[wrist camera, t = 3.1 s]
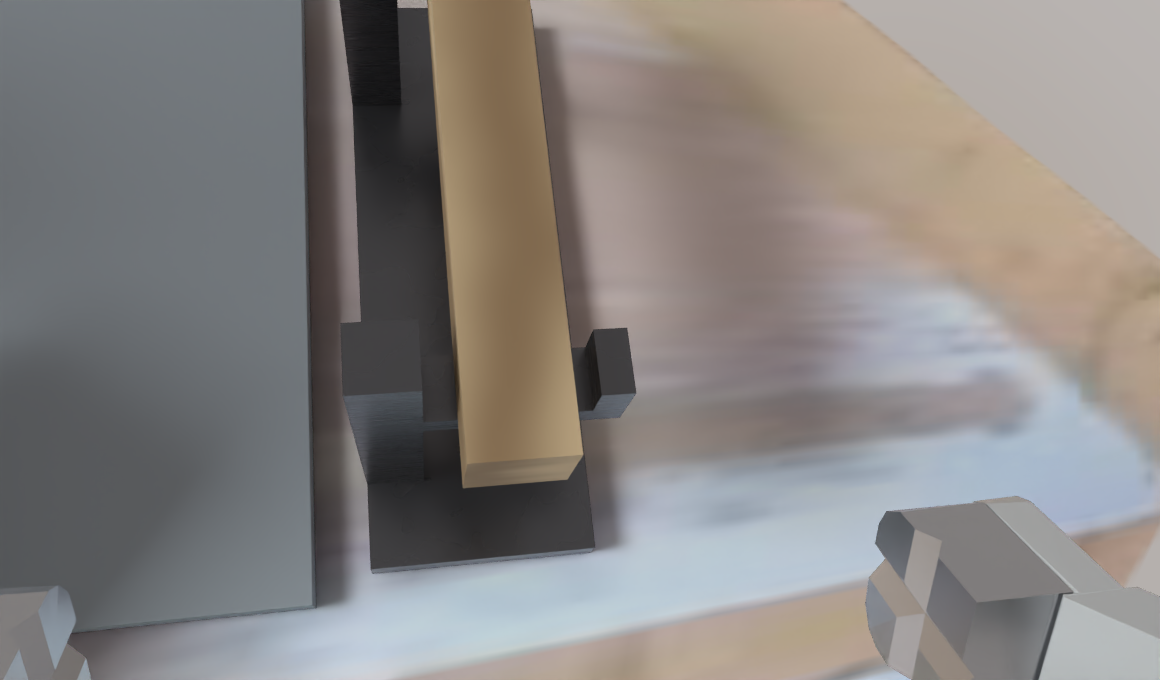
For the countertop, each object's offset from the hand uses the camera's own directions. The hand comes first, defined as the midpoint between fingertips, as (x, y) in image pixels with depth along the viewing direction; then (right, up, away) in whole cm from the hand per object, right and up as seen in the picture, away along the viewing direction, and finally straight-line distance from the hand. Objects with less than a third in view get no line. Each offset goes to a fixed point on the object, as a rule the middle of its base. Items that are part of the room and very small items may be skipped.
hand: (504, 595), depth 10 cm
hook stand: (-4, +6, +29) cm, 30 cm away
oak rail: (-2, +9, +21) cm, 23 cm away
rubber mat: (-16, +6, +27) cm, 32 cm away
